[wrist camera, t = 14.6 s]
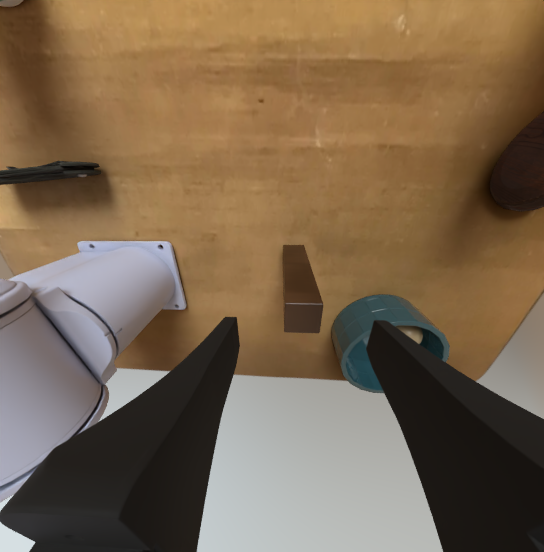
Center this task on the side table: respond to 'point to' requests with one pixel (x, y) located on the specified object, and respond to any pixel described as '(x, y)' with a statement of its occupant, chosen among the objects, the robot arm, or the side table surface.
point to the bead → (412, 332)
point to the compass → (521, 170)
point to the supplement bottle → (10, 3)
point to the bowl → (357, 327)
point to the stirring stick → (300, 292)
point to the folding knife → (48, 172)
